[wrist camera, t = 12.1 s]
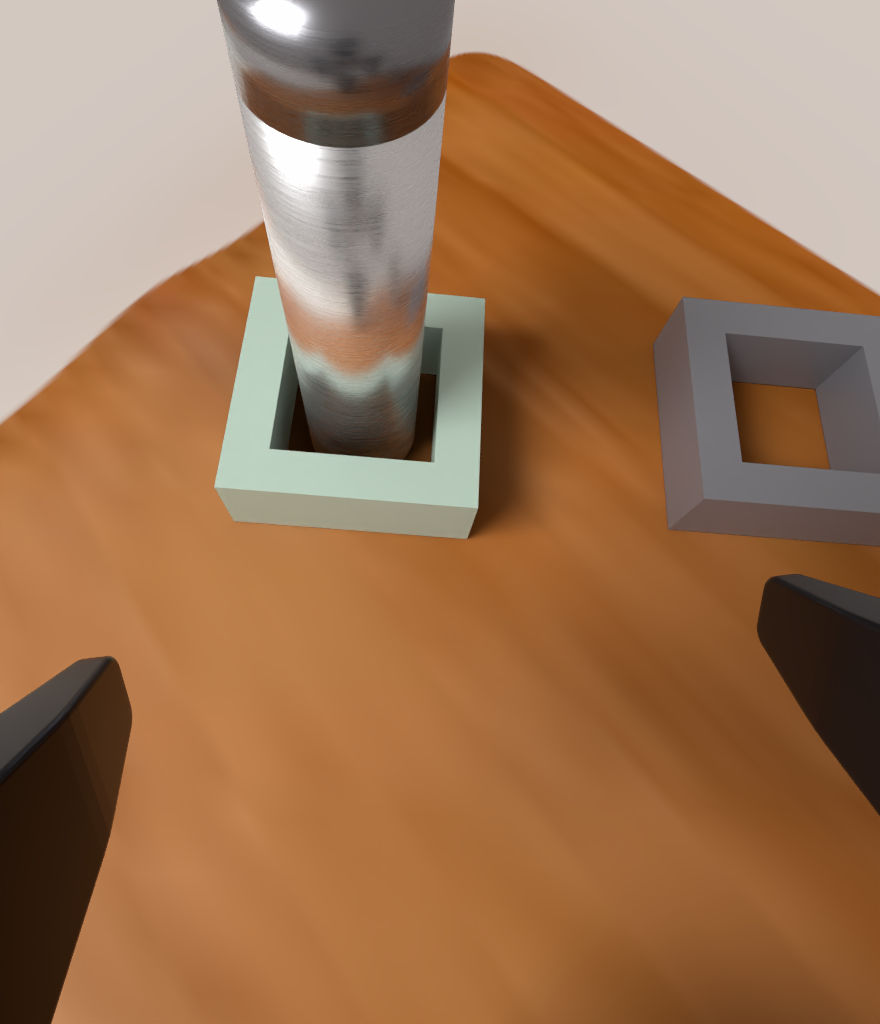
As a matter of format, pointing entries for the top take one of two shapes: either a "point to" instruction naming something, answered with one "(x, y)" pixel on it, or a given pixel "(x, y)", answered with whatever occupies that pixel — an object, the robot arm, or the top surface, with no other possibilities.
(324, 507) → the sage socket
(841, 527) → the charcoal socket
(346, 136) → the steel peg
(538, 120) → the top surface
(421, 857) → the top surface
